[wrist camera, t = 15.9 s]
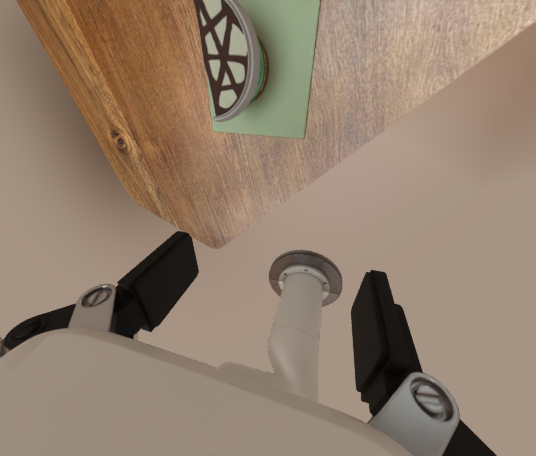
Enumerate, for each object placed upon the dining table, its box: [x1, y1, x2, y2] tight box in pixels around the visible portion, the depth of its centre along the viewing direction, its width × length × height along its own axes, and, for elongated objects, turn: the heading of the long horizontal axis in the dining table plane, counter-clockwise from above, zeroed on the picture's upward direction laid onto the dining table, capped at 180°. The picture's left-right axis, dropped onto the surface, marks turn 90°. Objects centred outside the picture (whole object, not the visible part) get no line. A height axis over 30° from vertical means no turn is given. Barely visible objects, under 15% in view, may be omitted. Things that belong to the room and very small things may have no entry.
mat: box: [206, 0, 320, 139], centre depth 30 cm, size 18×16×1 cm
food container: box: [194, 0, 269, 122], centre depth 25 cm, size 12×6×10 cm, turn 5°
